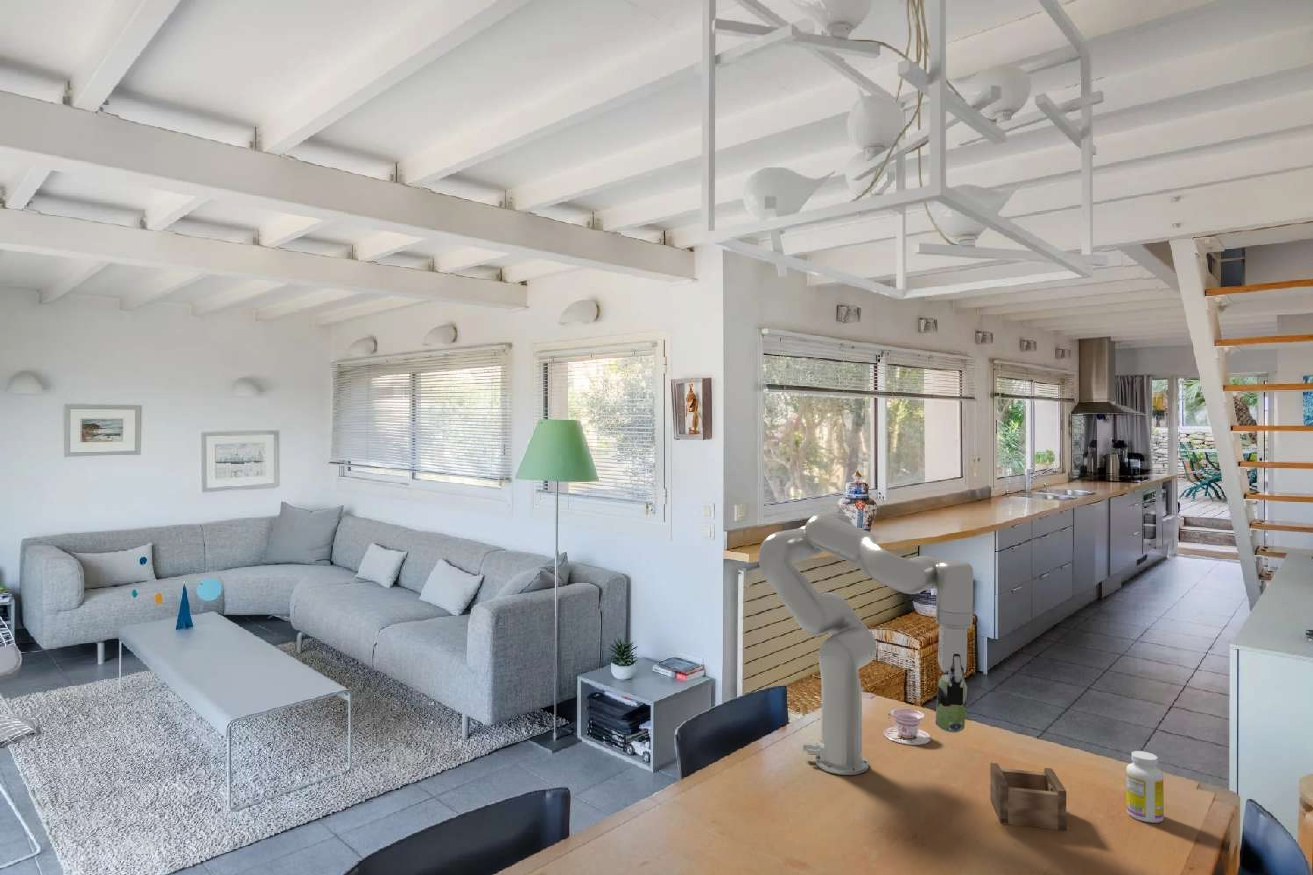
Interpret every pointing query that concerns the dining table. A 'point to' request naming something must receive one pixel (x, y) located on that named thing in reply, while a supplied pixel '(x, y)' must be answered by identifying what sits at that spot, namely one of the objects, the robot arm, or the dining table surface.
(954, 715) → the beverage can
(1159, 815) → the supplement bottle
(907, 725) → the teacup
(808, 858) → the dining table surface
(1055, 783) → the holder
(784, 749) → the dining table surface
